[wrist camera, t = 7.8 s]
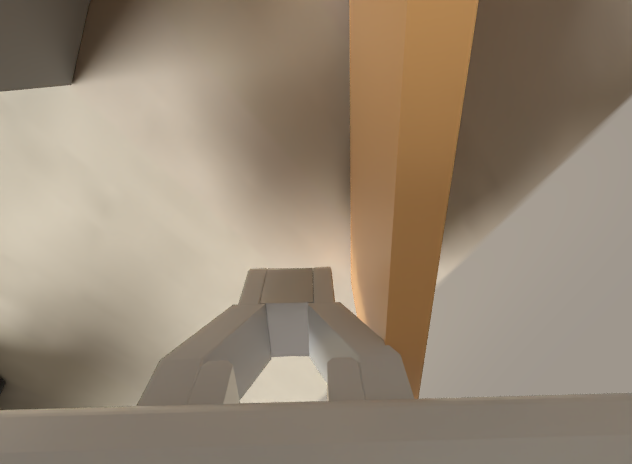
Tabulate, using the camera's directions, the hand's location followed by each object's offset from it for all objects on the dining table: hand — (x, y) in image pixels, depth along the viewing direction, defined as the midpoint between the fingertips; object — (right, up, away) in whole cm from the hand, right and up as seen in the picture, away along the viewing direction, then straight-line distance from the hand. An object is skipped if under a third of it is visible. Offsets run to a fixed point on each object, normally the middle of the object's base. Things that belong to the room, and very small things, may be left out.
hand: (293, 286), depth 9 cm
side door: (+2, +8, -1) cm, 9 cm away
